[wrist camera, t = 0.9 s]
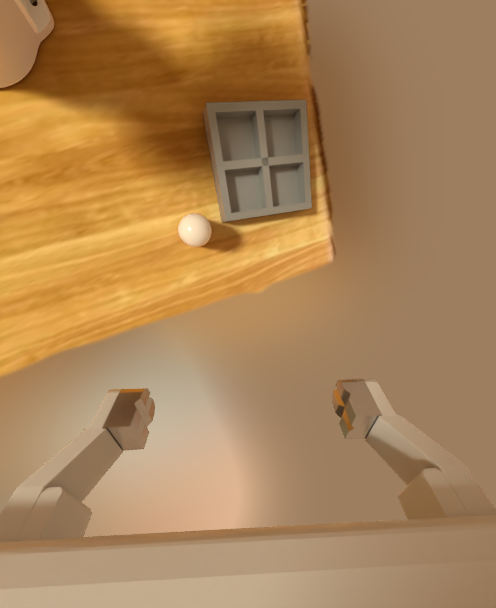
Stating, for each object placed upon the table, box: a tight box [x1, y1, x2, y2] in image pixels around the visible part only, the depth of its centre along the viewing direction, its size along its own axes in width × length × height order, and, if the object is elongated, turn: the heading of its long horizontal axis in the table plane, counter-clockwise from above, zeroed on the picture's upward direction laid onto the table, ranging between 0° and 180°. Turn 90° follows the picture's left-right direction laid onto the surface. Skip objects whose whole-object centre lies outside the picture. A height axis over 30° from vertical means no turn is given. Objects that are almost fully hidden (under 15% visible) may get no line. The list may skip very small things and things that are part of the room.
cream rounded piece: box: [178, 213, 212, 247], centre depth 38 cm, size 5×5×9 cm
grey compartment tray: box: [203, 100, 312, 222], centre depth 41 cm, size 17×17×4 cm
